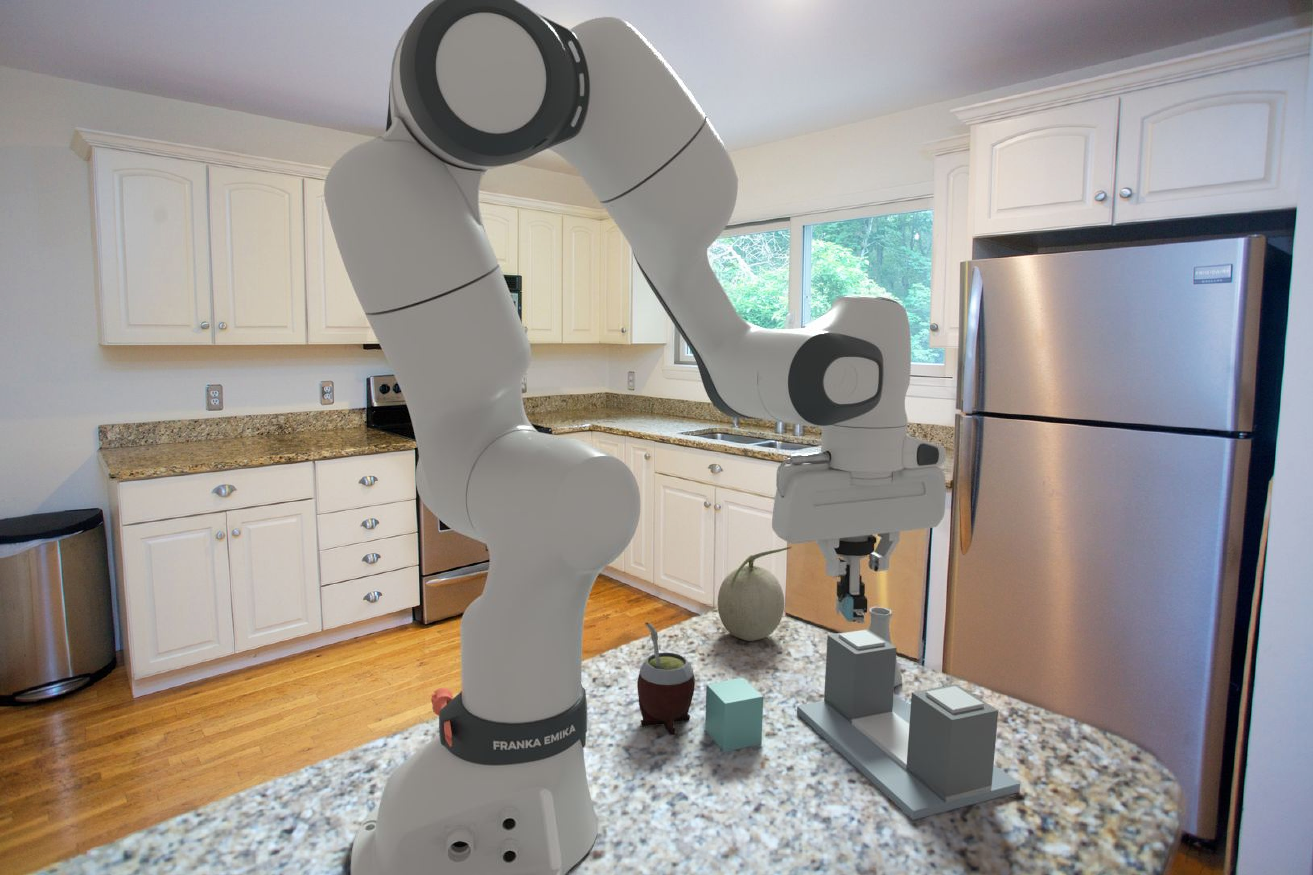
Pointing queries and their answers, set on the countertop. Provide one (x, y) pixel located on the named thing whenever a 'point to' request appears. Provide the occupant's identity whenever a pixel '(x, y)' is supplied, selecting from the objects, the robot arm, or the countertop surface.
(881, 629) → the flask
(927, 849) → the countertop surface
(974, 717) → the gray block stand
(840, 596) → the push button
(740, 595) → the fruit
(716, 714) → the block
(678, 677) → the mate gourd
